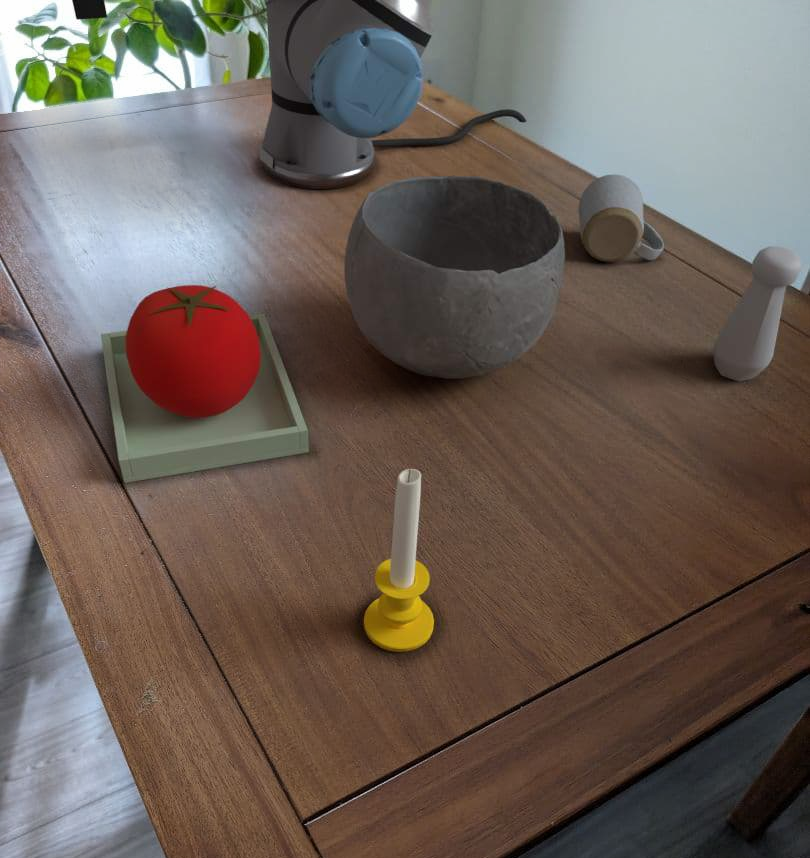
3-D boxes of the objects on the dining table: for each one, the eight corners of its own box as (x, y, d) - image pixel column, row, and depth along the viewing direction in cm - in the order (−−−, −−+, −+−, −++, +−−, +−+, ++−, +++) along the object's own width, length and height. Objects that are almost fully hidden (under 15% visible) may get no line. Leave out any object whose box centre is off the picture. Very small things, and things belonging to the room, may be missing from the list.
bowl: (395, 437, 79) (404, 291, 68) (314, 321, 91) (311, 182, 80) (582, 388, 85) (618, 248, 74) (483, 286, 98) (501, 153, 87)
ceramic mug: (575, 262, 102) (589, 200, 97) (572, 230, 108) (586, 169, 102) (663, 272, 102) (683, 211, 97) (656, 239, 108) (674, 179, 102)
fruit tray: (266, 335, 89) (264, 313, 87) (308, 452, 77) (307, 430, 75) (106, 356, 85) (100, 333, 83) (124, 483, 73) (118, 460, 71)
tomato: (282, 418, 79) (275, 320, 71) (156, 451, 75) (134, 350, 67) (240, 348, 86) (230, 252, 78) (122, 374, 82) (100, 275, 74)
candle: (362, 651, 62) (366, 497, 51) (364, 596, 66) (369, 439, 54) (434, 653, 62) (454, 500, 51) (432, 598, 66) (451, 443, 55)
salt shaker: (765, 361, 90) (815, 246, 81) (762, 392, 87) (814, 275, 77) (709, 348, 91) (751, 233, 82) (704, 378, 88) (747, 261, 78)
